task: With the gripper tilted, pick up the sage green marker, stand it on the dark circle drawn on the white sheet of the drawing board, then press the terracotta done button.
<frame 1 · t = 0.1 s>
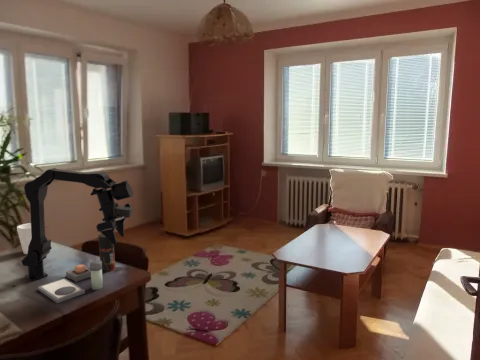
hand: (119, 240, 150), 15 cm above the table, tool pointing down, fingers open, 9 cm apart
marker: (97, 287, 143), on the table
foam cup: (31, 252, 180), on the table
drawing board: (61, 291, 139), on the table
button housing: (80, 275, 153), on the table
deodorant: (107, 269, 160), on the table
done button: (80, 269, 153), point 3 cm above the table, slide at 0.0 cm
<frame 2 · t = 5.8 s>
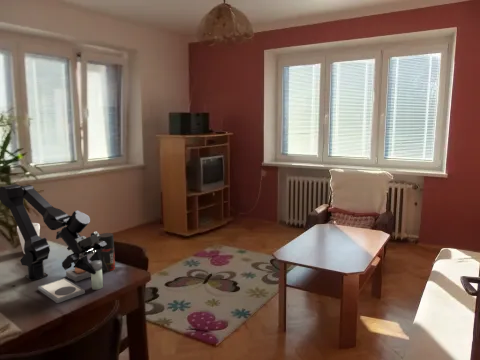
hand: (99, 271, 141), 7 cm above the table, tool tilted 45°, fingers closed on marker, 4 cm apart
marker: (97, 287, 143), on the table, touching gripper
everything else where it was.
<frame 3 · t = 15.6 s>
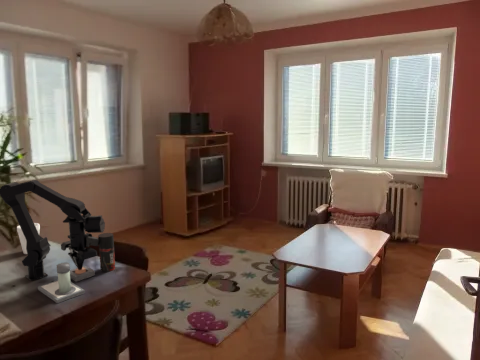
hand: (80, 269, 153), 3 cm above the table, tool pointing down, fingers closed, pressing on done button
marker: (65, 290, 137), point 1 cm above the table, touching drawing board
done button: (80, 272, 153), point 1 cm above the table, slide at 1.3 cm, touching gripper
everything else where it was.
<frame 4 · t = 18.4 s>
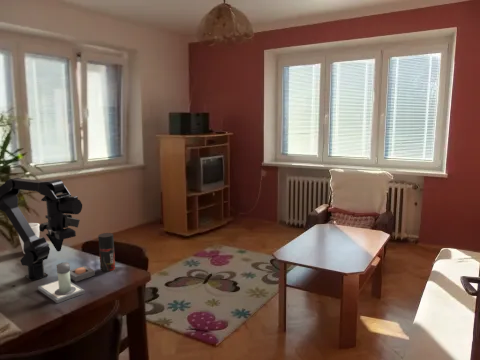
hand: (58, 251, 147), 12 cm above the table, tool pointing down, fingers closed
done button: (80, 272, 153), point 1 cm above the table, slide at 1.3 cm
everything else where it was.
at the end: marker 0.0 cm from the target spot, point 1.4 cm above the table; marker tilted 0°; done button slide at 1.3 cm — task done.
